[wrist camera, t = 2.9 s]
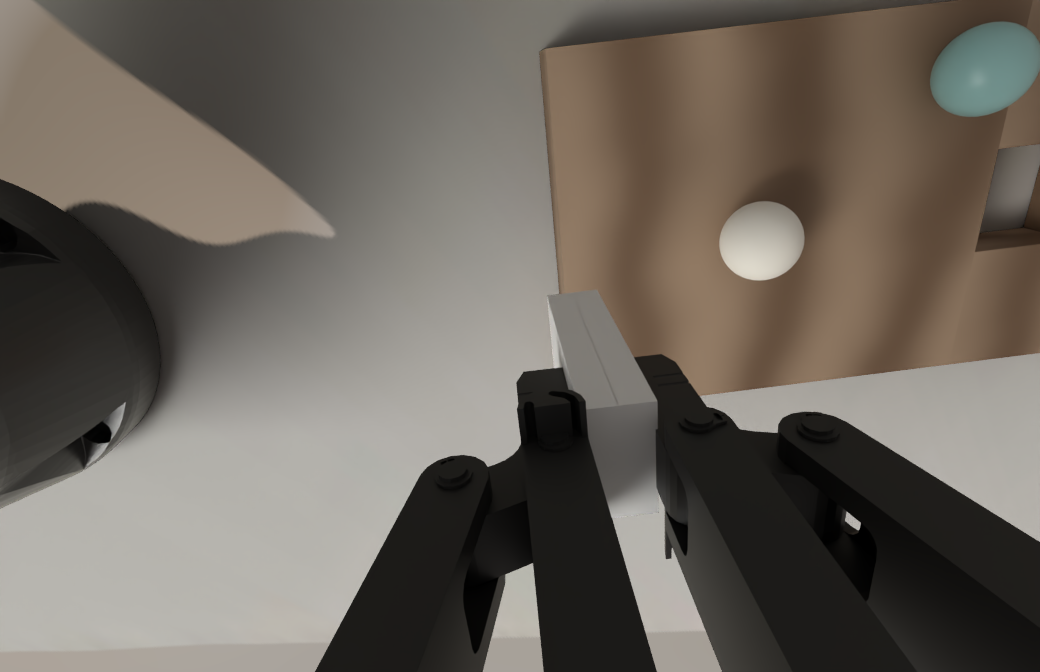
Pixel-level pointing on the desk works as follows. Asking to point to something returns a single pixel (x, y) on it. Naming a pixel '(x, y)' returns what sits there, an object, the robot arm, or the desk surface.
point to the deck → (793, 195)
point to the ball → (761, 240)
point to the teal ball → (985, 69)
